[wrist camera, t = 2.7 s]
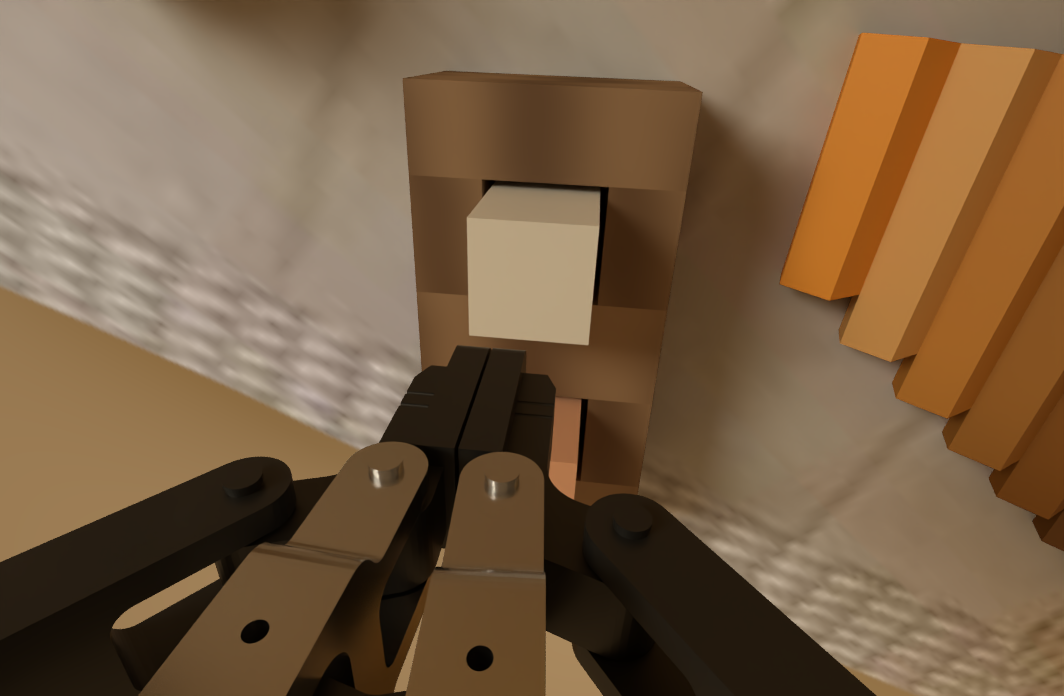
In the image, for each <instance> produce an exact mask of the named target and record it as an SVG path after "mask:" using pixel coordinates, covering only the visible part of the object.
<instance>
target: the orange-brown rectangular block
mask: <svg viewBox="0 0 1064 696" xmlns="http://www.w3.org/2000/svg"><path fill="white" fill-rule="evenodd" d="M580 414H581V398H571V397H560V396H556V397H555V411H554V425H553V439H552V451H551V460H550V469H549V478H550V480H551V482H552V483H553V484H554V486H555V487H556V488H557V489H558V490H559V491H560V492H562V493H563V494H564V495H566V496H568V497H570V498H571V499H574V494H575V484H576V473H577V461H578V445H579V429H580Z"/></svg>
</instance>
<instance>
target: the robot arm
mask: <svg viewBox="0 0 1064 696" xmlns="http://www.w3.org/2000/svg"><path fill="white" fill-rule="evenodd" d="M526 358H527V356H526V350H513V349H501V348H492V350H491V348H488V347H476V346H463V345H457V346H456V348H455V350H454V352H453V354H452V356H451V359H450V361H449V363H448V365H447V366H435V365H431V366H429V367H428V368H426V369H425V370H424V371H422V372H421V373H419V374H418V375H417V376H415V377H414V379H413V381H412V383H411V385H410V387H409V388H408V390H407V394H405V396H404V398H403V399H402V401H401V405H400V406H399V407H398V409H397V411H396V412H395V414H394V416H393V418H392V420H391V422H390V423H389V425H388V427H387V429H386V431H385V433H384V434H383V436H382V438H381V440H380V442H379V443H377V444H373V445H370V446H367V447H365V448H363V449H361V450H359V451H358V452H356V453H355V454H354V455H352V456H351V457H350V458H349V459H348V461H347V462H346V463H345V464H344V466H343V467H342V469H341V470H340V472H339V473H338V474H336V475H332V476H327V477H320V478H312V479H304V480H297V481H293V479H292V474H291V471H290V468H289V467H288V466H287V465H286V464H285V463H284V462H282V461H280V460H278V459H275V458H270V457H250V458H244V459H240V460H236V461H233V462H231V463H228V464H226V465H223V466H221V467H219V468H216V469H214V470H212V471H210V472H207V473H205V474H202V475H200V476H198V477H196V478H193V479H191V480H189V481H186V482H184V483H182V484H180V485H177V486H175V487H173V488H170V489H168V490H166V491H163V492H161V493H159V494H156V495H154V496H152V497H149V498H147V499H145V500H143V501H140V502H138V503H136V504H133V505H131V506H129V507H127V508H124V509H122V510H120V511H117V512H115V513H113V514H111V515H108V516H106V517H103V518H101V519H99V520H96V521H94V522H92V523H90V524H87V525H85V526H83V527H80V528H78V529H76V530H74V531H71V532H69V533H67V534H64V535H62V536H60V537H57V538H55V539H53V540H50V541H48V542H46V543H43V544H41V545H39V546H37V547H34V548H32V549H30V550H27V551H25V552H23V553H21V554H18V555H16V556H14V557H11V558H9V559H7V560H5V561H2V562H0V696H545V687H546V686H545V684H546V679H545V678H546V676H545V675H546V665H545V664H546V663H545V662H546V657H545V656H546V651H545V649H546V645H545V644H546V633H545V632H546V631H548V632H550V633H552V634H554V635H557V636H559V637H561V638H563V639H565V640H567V641H569V642H572V646H573V651H574V653H575V656H576V658H577V660H578V661H579V663H580V664H581V666H582V667H583V668H584V670H585V671H586V672H587V674H588V675H589V677H590V678H591V679H592V681H593V682H594V684H596V686H597V688H598V689H599V690H600V692H601V693H602V695H603V696H876V695H875V694H874V693H873V692H872V691H870V690H869V689H868V688H867V687H866V686H865V685H864V684H862V682H860V681H859V680H858V679H857V678H856V677H855V676H854V675H852V674H851V673H850V672H849V671H848V670H847V669H846V668H845V667H843V666H842V665H841V664H840V663H839V662H838V661H837V660H836V659H834V658H833V657H832V656H831V655H830V654H829V653H828V652H826V651H825V650H824V649H823V648H822V647H821V646H820V645H819V644H817V643H816V642H815V641H814V640H813V639H812V638H811V637H810V636H808V635H807V634H806V633H805V632H804V631H803V630H802V629H800V628H799V627H798V626H797V625H796V624H795V623H794V622H793V621H791V620H790V619H789V618H788V617H787V616H786V615H785V614H783V613H782V612H781V611H780V610H779V609H778V608H777V607H776V606H774V605H773V604H772V603H771V602H770V601H769V600H768V599H767V598H765V597H764V596H763V595H762V594H761V593H760V592H759V591H757V590H756V589H755V588H754V587H753V586H752V585H751V584H750V583H748V582H747V581H746V580H745V579H744V578H743V577H742V576H741V575H739V574H738V573H737V572H736V571H735V570H734V569H733V568H731V567H730V566H729V565H728V564H727V563H726V562H725V561H724V560H722V559H721V558H720V557H719V556H718V555H717V554H716V553H714V552H713V551H712V550H711V549H710V548H709V547H708V546H707V545H705V544H704V543H703V542H702V541H701V540H700V539H699V538H698V537H696V536H695V535H694V534H693V533H692V532H691V531H690V530H688V529H687V528H686V527H685V526H684V525H683V524H682V523H681V522H679V521H678V520H677V519H676V518H675V517H674V516H673V515H672V514H670V513H669V512H668V511H667V510H666V509H665V508H663V507H662V506H661V505H659V504H658V503H656V502H654V501H653V500H650V499H648V498H646V497H643V496H639V495H634V494H626V493H620V494H612V495H608V496H605V497H602V498H600V499H599V500H597V501H596V502H594V503H593V504H592V505H591V506H589V505H587V504H584V503H581V502H578V501H576V500H574V499H571V498H570V497H568V496H566V495H564V494H563V493H562V492H560V491H559V490H558V489H557V488H556V487H555V486H554V484H553V483H552V482H551V480H550V478H549V469H550V460H551V451H552V439H553V425H554V411H555V397H556V388H555V386H554V384H553V383H552V381H551V379H550V378H549V376H548V375H543V374H531V373H526ZM441 548H445V552H444V557H443V562H442V566H441V567H435V566H436V564H437V561H438V557H439V554H440V551H441ZM213 563H215V565H216V568H217V571H218V574H219V577H220V579H218V580H217V581H215V582H213V583H211V584H210V585H208V586H206V587H204V588H202V589H200V590H199V591H197V592H195V593H193V594H191V595H190V596H188V597H186V598H185V599H183V600H181V601H179V602H177V603H175V604H173V605H172V606H170V607H168V608H167V609H164V610H163V611H161V612H159V613H157V614H155V615H154V616H152V617H150V618H148V619H146V620H145V621H143V622H141V623H139V624H137V625H135V626H133V627H130V628H126V629H113V628H112V626H113V624H114V623H115V621H116V620H117V619H118V618H119V617H120V616H121V615H122V614H123V613H124V612H125V611H127V610H128V609H129V608H131V607H133V606H134V605H136V604H138V603H140V602H142V601H143V600H145V599H147V598H149V597H151V596H153V595H155V594H157V593H159V592H160V591H162V590H164V589H166V588H168V587H170V586H172V585H174V584H175V583H177V582H179V581H181V580H183V579H185V578H187V577H188V576H190V575H192V574H194V573H196V572H198V571H199V570H202V569H203V568H205V567H207V566H209V565H211V564H213ZM422 615H423V617H422ZM421 618H422V622H421V627H420V631H419V635H418V640H417V645H416V649H415V654H414V659H413V663H412V668H411V673H410V677H409V682H408V687H407V691H402V692H395V693H394V690H395V686H396V683H397V679H398V677H399V674H400V672H401V669H402V666H403V664H404V661H405V659H406V656H407V653H408V651H409V649H410V646H411V643H412V641H413V638H414V636H415V633H416V631H417V628H418V626H419V623H420V620H421Z"/></svg>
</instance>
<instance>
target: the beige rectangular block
mask: <svg viewBox="0 0 1064 696" xmlns="http://www.w3.org/2000/svg"><path fill="white" fill-rule="evenodd" d="M599 221H600V186H584V185H567V184H550V183H534V182H517V181H500V180H496V181H495V183H494V184H493V185H492V186H491V188H490V189H489V190H488V191H487V193H486V194H485V195H484V196H483V198H482V199H481V200H480V202H479V203H478V204H477V205H476V207H475V208H474V209H473V210H472V212H471V213H470V214H469V215H468V217H467V256H468V307H469V335H470V336H482V337H494V338H506V339H518V340H531V341H543V342H555V343H567V344H579V345H588V344H589V333H590V322H591V311H592V300H593V290H594V279H595V268H596V257H597V247H598V236H599Z"/></svg>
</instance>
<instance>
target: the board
mask: <svg viewBox="0 0 1064 696" xmlns="http://www.w3.org/2000/svg"><path fill="white" fill-rule="evenodd" d="M403 92H404V107H405V122H406V137H407V153H408V168H409V183H410V198H411V213H412V229H413V244H414V259H415V274H416V289H417V304H418V320H419V335H420V350H421V365H422V371H424V370H425V369H426V368H428V367H429V366H431V365H435V366H447V365H448V363H449V361H450V359H451V356H452V354H453V352H454V350H455V348H456V346H457V345H463V346H476V347H488V348H491V350H492V348H501V349H513V350H526V356H527V358H526V373H531V374H543V375H548V376H549V378H550V379H551V381H552V383H553V384H554V386H555V388H556V396H560V397H571V398H581V414H580V429H579V445H578V461H577V473H576V484H575V494H574V500H576V501H578V502H581V503H584V504H587V505H589V506H591V505H592V504H593V503H594V502H596V501H597V500H599V499H600V498H602V497H605V496H608V495H612V494H620V493H626V494H634V495H637V494H638V488H639V482H640V476H641V469H642V463H643V457H644V451H645V445H646V439H647V432H648V426H649V420H650V414H651V408H652V402H653V395H654V389H655V383H656V377H657V371H658V365H659V358H660V352H661V346H662V340H663V334H664V327H665V321H666V315H667V309H668V303H669V297H670V290H671V284H672V278H673V272H674V266H675V260H676V253H677V247H678V241H679V235H680V229H681V223H682V216H683V210H684V204H685V198H686V192H687V186H688V179H689V173H690V167H691V161H692V155H693V148H694V142H695V136H696V130H697V124H698V118H699V111H700V105H701V99H702V93H703V92H701V91H699V90H697V89H695V88H693V87H691V86H689V85H687V84H685V83H683V82H680V81H658V80H636V79H613V78H591V77H568V76H546V75H524V74H501V73H479V72H456V71H443V72H437V73H431V74H425V75H420V76H414V77H408V78H403ZM496 180H500V181H517V182H534V183H550V184H567V185H584V186H600V221H599V236H598V247H597V257H596V268H595V279H594V290H593V300H592V311H591V322H590V333H589V344H588V345H579V344H567V343H555V342H543V341H531V340H518V339H506V338H494V337H482V336H470V335H469V307H468V256H467V217H468V215H469V214H470V213H471V212H472V210H473V209H474V208H475V207H476V205H477V204H478V203H479V202H480V200H481V199H482V198H483V196H484V195H485V194H486V193H487V191H488V190H489V189H490V188H491V186H492V185H493V184H494V183H495V181H496Z"/></svg>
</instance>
